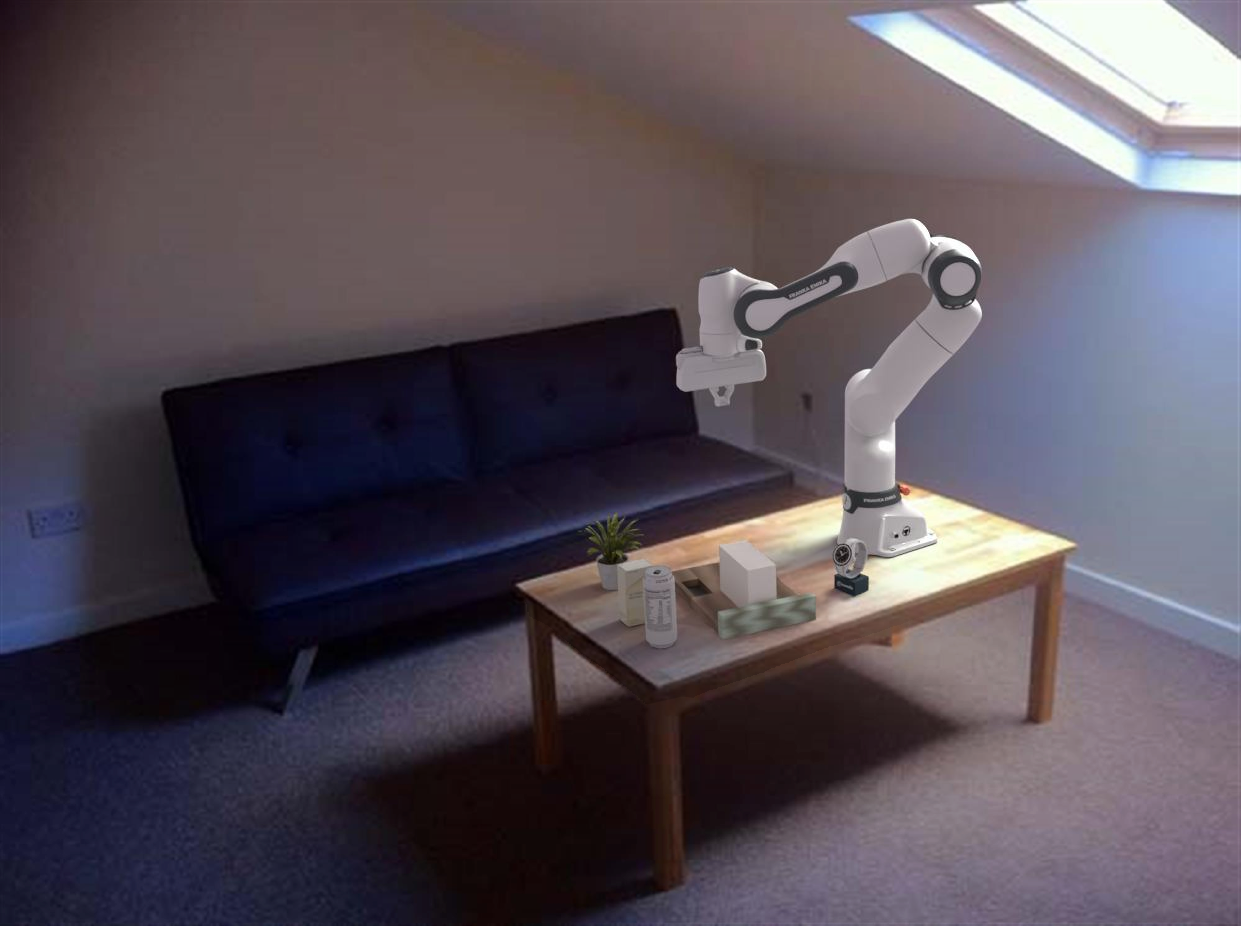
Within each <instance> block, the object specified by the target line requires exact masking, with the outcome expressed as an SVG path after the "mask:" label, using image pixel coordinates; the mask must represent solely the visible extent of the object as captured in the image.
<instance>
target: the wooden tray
mask: <svg viewBox="0 0 1241 926" xmlns="http://www.w3.org/2000/svg"><path fill="white" fill-rule="evenodd" d="M671 573H672V575H673V576H674V580H675V592H677V593H678V594H679V595H680V596H681V597H682V599H683V600H685V602H687V604H688V605H689V606H690V607H691V608H692V609H693V610H694V611H695V610H696V611H695V612H696V613H697V614H698V615H699V616H700V617H701V618H702V619H703V621H704V622H706V624H707V623H708V624H707V625H708V626H710V628H711V629H712V630H713V631H714V632H715V633H716V634H717V636H719V637H720V638H721V639H722V640H728V639H731V638H735V637H739V636H745V635H751V634H755V633H759V632H764V631H768V630H773V629H778V628H781V627H783V628H784V627H786V626H790V625H796V624H801V623H805V622H809V621H815V620H817V596H816V595H815V594H814V593H812V592H806V593H802V594H801V593H800V594H797V593H796V592H795V591H794V590H792V589H791V588H790V587H789V586H788V585H786V583H784V582H783V581H782V580H780V579H779V578H778V577H777V576H776V596H777V600H772V601H767V602H762V603H757V604H753V605H748V606H743V607H737V606H736V605H735V604H734V603H733V602H732V601H731V600H730V599H729V598H728V597H727V596H726V595H725V594H724V593H723V592H722V591H721V590H720V564H719V561H717V562H713V563H709V564H704V565H703V564H702V565H698V566H692V567H688V568H683V569H678V570H671Z"/></svg>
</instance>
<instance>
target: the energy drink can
mask: <svg viewBox="0 0 1241 926" xmlns="http://www.w3.org/2000/svg"><path fill="white" fill-rule="evenodd" d="M671 571H672V570H671V568H670V567H669V566H666V565H653V566H652V567H649V568H647V569H646V571H645V575H644V577H643V596H644V613H645V623H644V626H645V629H644V630H645V640H646V641H647V642H648V644H649V646H650V647H653V648H656V649H667V648H670V647H672V646H673V645H674V644H675V642H676V641H677V639H678V627H677V625H678V624H677V605H676V604H677V603H676V590H675V580H674V576H673V575H672V573H671Z"/></svg>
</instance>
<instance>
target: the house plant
mask: <svg viewBox="0 0 1241 926" xmlns="http://www.w3.org/2000/svg"><path fill="white" fill-rule="evenodd" d="M618 516H619V515H618V511H617V512H615V514H614V515H613V516H612V519H611V518H610V513H608V514H607V522H606V523H607V525H606V526H607V527H606V529H607V532H606V530H605V527H604V526H603V524H602V523H600V521H598V520H597V519H595V518H594V522H595V523H590V524H593V525H596V526H597V527H598V529H599V532H600V533H601V536H602V539H603V541H602V539H601V537H600V535H599V533H598V532H596V530H594V528H593V527H591V526H590V525H589V526H587V527H588V528H587V527H584V529H585V531H587V532H588V533H590V534H591V535H592V536H589V537H588V539H589V540H591V542H594V543H595V544H597V545H598V546H599V547H600V549H601V550H599V549H598V548H596V547H589V548H588V549H587V552H586V554H588V553H589V554H588V555H587V556H590V555H593V554H596V553H599V554H600V555H598V556H597V557H596V559H595V560H596V561H595V563H596V565H597V566H596V567H597V571H598V574H599V578H600V582H601V586H602V588H603V589H604V590H607V591H618V574H617V564H621V563H625V562H629V561H630V560H629V559H630V558H629V556H628V554H626V553H625V552H626V551H627V550H629V549H630V550H631V549H633V550H634V549H638V550H640V548H639V547H638V546H637V545H640V546H642V544H641V542H639V541H637V540H631V541H628V540H630V539H631V538H634V537H639V536H640V537H641V536H643V534H640V533H637V534H635V532H633V531H639V530H641V529H640V528H635V529H634V528H633V529H630V528H631V526H632V525H634V523H636V522H637V521H639V519H634V520H632V521H631V522H630V523H629V524H627V525H626V527H625V528H623V530H622V531H621V532H620V533H618V530H619V528H620V527H621V525H622V523H623V522H624V520H625V518H626V516H627V515H625V516H624V517H623V518H622V519H621V520H620V521H618ZM629 529H630V530H629ZM579 532H581V530H579V531H577V533H579ZM617 533H618V534H617ZM630 544H631V545H630ZM627 545H628V546H627ZM623 551H624V552H623Z"/></svg>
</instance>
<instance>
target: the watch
mask: <svg viewBox="0 0 1241 926" xmlns="http://www.w3.org/2000/svg"><path fill="white" fill-rule="evenodd" d="M856 543H858V546H859V551H858V552H857V553H855V548H856V545H855V544H856ZM831 555H832V556H831V557H832V561H833V566H834V568H835V570H836V573H835V574H834V575H833V576H834V577H833V578H834V579H833V583H834V584H833V589H834V590H837V591H839V592H842V593H844V594H847V595H850V596H852V597H858V596H859V595H861V594H864V593H865V592H867V591H870V590H869V587H870V586H869V585H870V583H869V580H870V576H868V575H866V574H863V573H861V572H863V570H864V569H865V567H866V563H867V559H868V555H869V554H867V546H866V544H865V543H864V542H863V541H860V540H857V539H854V538H849V539H847V540H845V541H843V542H842V543H841V544H839V545H838V544H837V545H836V546H835V547H834V549H833V551H832V554H831ZM851 565H852V569H850V568H849V567H850V566H851Z"/></svg>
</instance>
